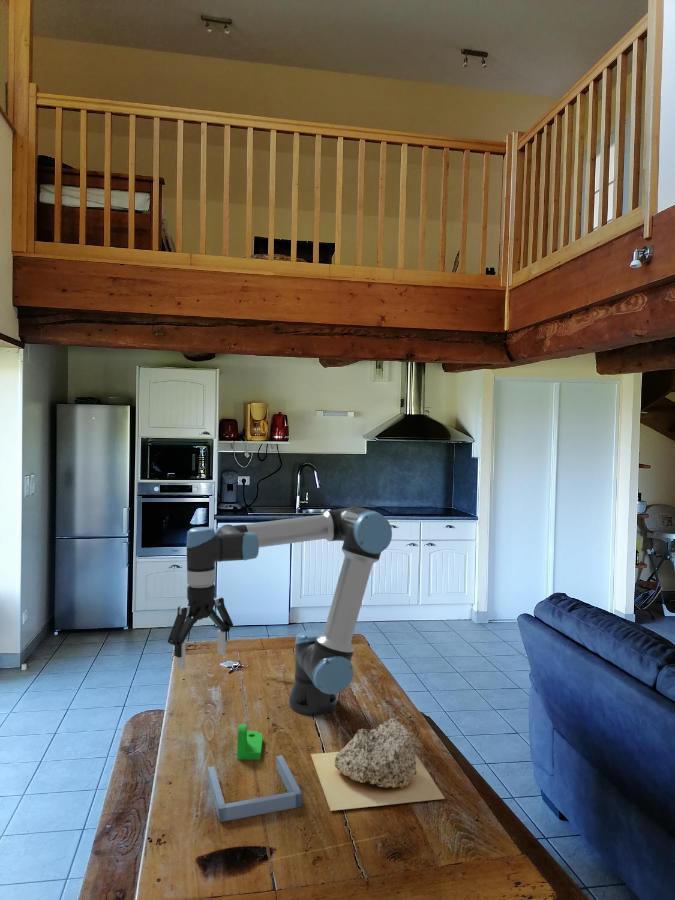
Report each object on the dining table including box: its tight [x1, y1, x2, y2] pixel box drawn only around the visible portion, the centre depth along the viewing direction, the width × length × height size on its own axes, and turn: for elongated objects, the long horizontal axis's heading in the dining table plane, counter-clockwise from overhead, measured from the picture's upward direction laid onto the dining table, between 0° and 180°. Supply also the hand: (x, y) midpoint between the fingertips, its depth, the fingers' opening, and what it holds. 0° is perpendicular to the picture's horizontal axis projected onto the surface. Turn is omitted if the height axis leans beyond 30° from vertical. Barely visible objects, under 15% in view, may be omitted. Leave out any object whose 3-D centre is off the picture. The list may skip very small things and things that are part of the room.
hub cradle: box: [207, 755, 303, 823], centre depth 151 cm, size 19×18×3 cm
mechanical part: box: [236, 724, 263, 760], centre depth 171 cm, size 12×6×8 cm, turn 3°
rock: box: [310, 718, 446, 812], centre depth 157 cm, size 28×22×16 cm
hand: (201, 661), depth 173 cm, fingers open, 13 cm apart
